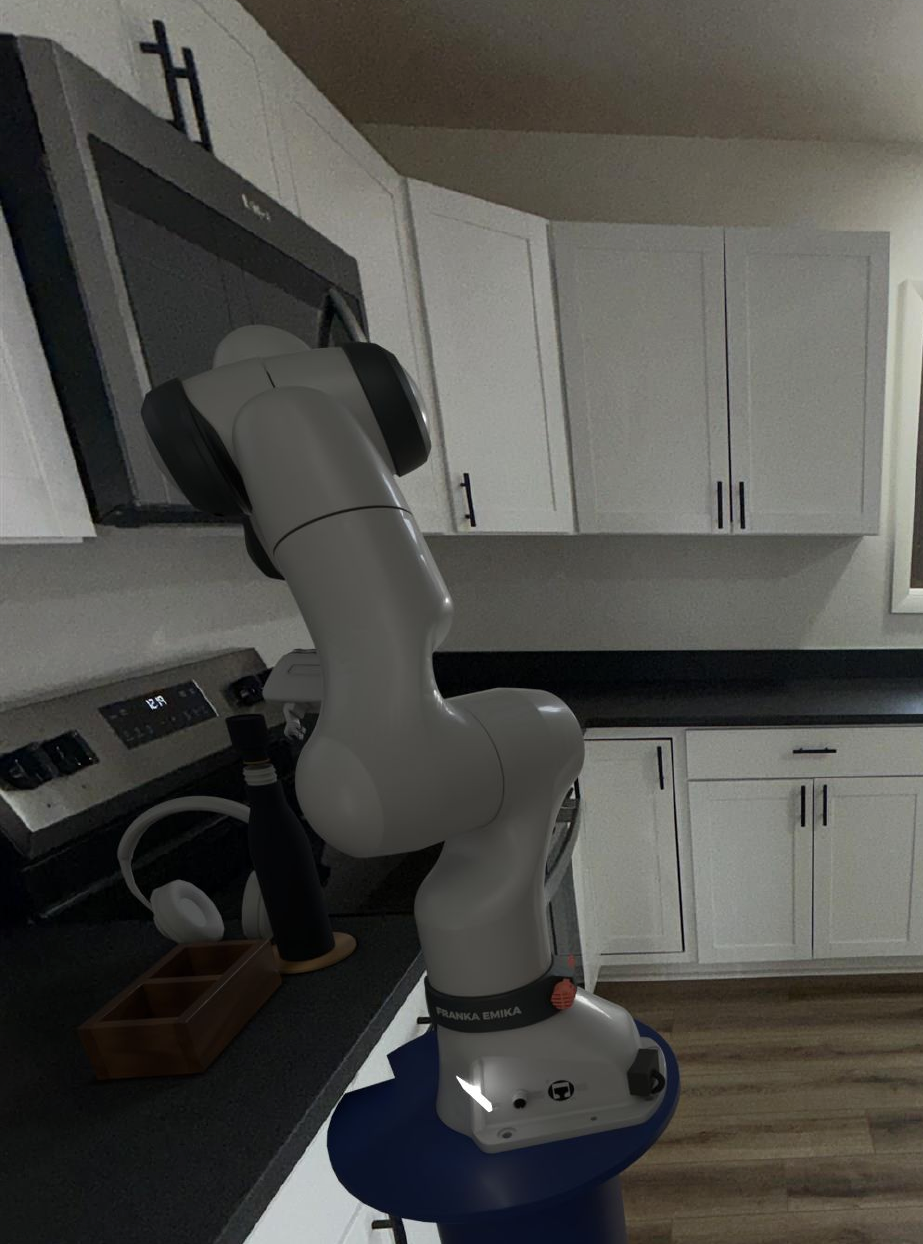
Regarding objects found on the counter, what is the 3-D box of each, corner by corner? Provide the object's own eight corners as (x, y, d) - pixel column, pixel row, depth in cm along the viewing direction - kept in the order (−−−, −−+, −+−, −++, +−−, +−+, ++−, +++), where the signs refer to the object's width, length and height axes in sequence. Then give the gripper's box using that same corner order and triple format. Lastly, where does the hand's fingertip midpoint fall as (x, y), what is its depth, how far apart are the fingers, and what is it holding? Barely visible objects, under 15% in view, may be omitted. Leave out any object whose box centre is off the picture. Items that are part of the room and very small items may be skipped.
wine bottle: (282, 966, 106) (212, 725, 93) (277, 947, 111) (210, 715, 98) (339, 953, 109) (279, 718, 97) (332, 934, 114) (274, 709, 102)
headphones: (137, 970, 106) (81, 816, 98) (163, 939, 114) (112, 794, 106) (305, 949, 111) (265, 801, 103) (318, 920, 119) (282, 781, 111)
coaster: (368, 932, 116) (367, 929, 115) (337, 971, 106) (337, 968, 105) (282, 936, 114) (281, 934, 114) (243, 976, 104) (242, 973, 104)
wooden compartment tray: (282, 982, 103) (269, 938, 101) (203, 1073, 86) (185, 1022, 84) (195, 987, 102) (180, 942, 99) (97, 1080, 85) (76, 1029, 83)
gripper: (269, 634, 114) (236, 722, 109) (411, 635, 111) (383, 726, 107) (300, 663, 120) (269, 748, 115) (436, 665, 117) (410, 753, 112)
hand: (325, 738), depth 111 cm, fingers open, 8 cm apart
